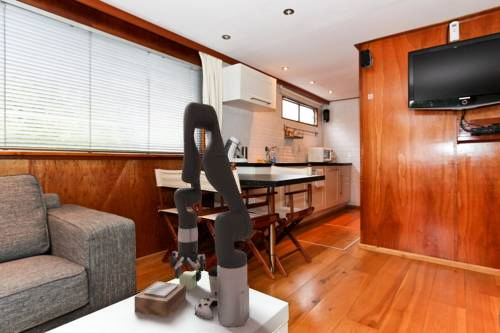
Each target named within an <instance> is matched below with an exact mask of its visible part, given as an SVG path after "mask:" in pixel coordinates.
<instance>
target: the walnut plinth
mask: <svg viewBox="0 0 500 333" xmlns="http://www.w3.org/2000/svg"><path fill="white" fill-rule="evenodd" d="M186 300H187V290H186V285H182V284H179V283H172V282H165V281H157V280H156V281H155V282H154V283H152V284H151V285H149V286H147V287H146V288H145V289H143V290H142V291H140V292H139V293H138V294H136V295H134V313H140V314H145V315H152V316H155V317H156V316H157V317H163V318H168V317H169V316H170V315H171V314H172V313H173V312H174V311H176V310H177V309H178V308H179V307H180V306H181V304H183V303H184V302H185V301H186Z"/></svg>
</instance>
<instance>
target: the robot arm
mask: <svg viewBox="0 0 500 333" xmlns="http://www.w3.org/2000/svg"><path fill="white" fill-rule="evenodd" d="M182 118H183V119H182V122H183V124H182V126H183V127H182V129H183V131H182V132H183V159H182V161H183V162H182V169H181V181H182V182H183V183H185V184H189V185H190V187H181V188H178V189H176V190H175V191H174V194H173V201H174V204H175V207H176V208H175V209H176V211H177V215H178V232H177V250H174V251H172V252H171V253H170V265H169V266H170V268H173V269H174V276H175V278H176V280H179V276H180V275H181V274H182V273H181V272H182V271H181V270H182V268H181V267H182V265H184V266H185V265H186V266H191V267H192V268H193V269H194V270H195V272H196V282H197V283H198V282H199V281H200V280H201V278H202V272H204V271H205V270H206V268H207V263H206V261H207V260H206V259H207V258H206V254H205V253H203V254H199V253H198V247H199V243H198V242H199V240H198V237H199V232H198V214H197V212H196V211H191V210H188V209H187V207H189V206H197V205H198V204H200V203H201V202H202V198H203V193H202V187H201V186H202V185H201V173H202V168H203V173H204V176H205V178H206V180H207V182H208V183H209V184H210V186H212V188H213V189H214V190H215V191H216V192H217V193H218V194H219V196H221V197H222V199H223V200H224V202H226V203H225V204H226V205H227V207H228V209H229V211H225V212H220V213H218V214H217V215H216V217H215V219H214V223H213V224H214V225H213V229H214V230H213V232H214V233H213V234H214V248H215V249H214V250H215V256H216V260H217V262H216V266H217V306H216V307H217V311H216V312H217V322H218V323H219V324H220V325H222V326H224V327H238V326H242V327H243V326H245V324H246V322H247V320H248V319H249V317H250V286H249V284H248V257H247V253H246V252H245V251H242V250H239V249H235V244H234V242H238V241H243V240H246V239H249V238H250V237H251V236H252V234H253V222H252V218H251V215H250V213H249V210H248V208H247V205H246V203H245V201H244V199H243V196H242V194H241V192H240V189H239V186H238V184H237V180H236V177H235V174H234V170H233V168H232V165H231V161H230V159H229V156H228V153H227V150H226V146H225V143H224V139H223V137H222V132H221V127H220V123H219V118H218V114H217V111H216V109H215V107H214V106H212V105H211V104H207V103H202V102H201V103H200V102H195V101H190V102H188V103H186V105H185V107H184V111H183V116H182ZM196 129H200V130H204V131H205V133H206V138H207V141H206V146H205V148H204V151H203V153H202V156H201V153H200V150H199V149H198V147H197V146H198V145H197V143H196V139H195V130H196ZM177 258H178V259H179V260H177Z"/></svg>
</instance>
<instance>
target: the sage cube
mask: <svg viewBox="0 0 500 333" xmlns="http://www.w3.org/2000/svg"><path fill="white" fill-rule="evenodd" d="M178 280H179V283H178V284H182V285H186V291H192V290H193V289H195V287H197V286H198V282H196V271H190V270H189V271H187V270H186V271H184V272H183V273H181V275H180V276H179V279H178Z"/></svg>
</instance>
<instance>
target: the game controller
mask: <svg viewBox="0 0 500 333" xmlns="http://www.w3.org/2000/svg"><path fill="white" fill-rule="evenodd" d="M211 307H217V299H215V298H212V297H205V298H201V299H200V300H199V301H198V303H197V304H196V305H195V306H194V311H195V312H194V315H195V316H196V315H197V316H201V317H203V318H205V319H207V320H211V319H213V318H214V316H213V312H212V310H211Z"/></svg>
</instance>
